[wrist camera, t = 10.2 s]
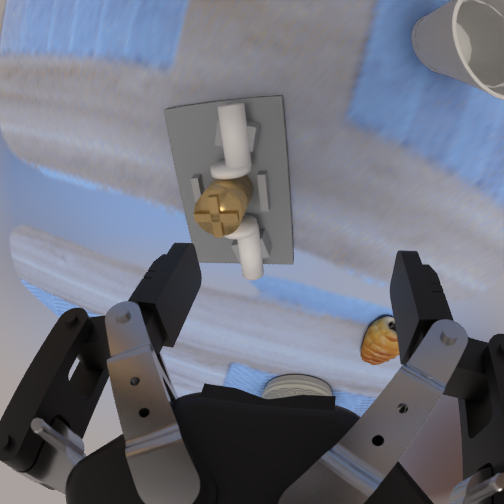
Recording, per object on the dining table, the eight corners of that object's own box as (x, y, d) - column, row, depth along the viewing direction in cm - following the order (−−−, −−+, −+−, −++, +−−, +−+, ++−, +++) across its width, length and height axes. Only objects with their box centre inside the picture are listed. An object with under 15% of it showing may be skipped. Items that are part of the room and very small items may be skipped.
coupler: (210, 170, 32) (187, 196, 27) (251, 168, 32) (236, 194, 26) (216, 207, 35) (196, 239, 30) (255, 207, 34) (242, 239, 29)
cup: (487, 64, 20) (558, 78, 11) (432, 95, 24) (489, 119, 14) (445, -4, 18) (506, -25, 8) (386, 26, 22) (428, 8, 12)
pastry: (386, 358, 46) (388, 377, 43) (349, 350, 46) (349, 370, 43) (416, 320, 40) (421, 340, 37) (377, 309, 40) (379, 330, 37)
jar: (281, 364, 50) (264, 462, 36) (347, 385, 51) (343, 477, 37) (253, 395, 58) (234, 476, 43) (311, 413, 59) (301, 491, 44)
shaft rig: (167, 108, 30) (145, 118, 26) (282, 95, 28) (276, 101, 24) (199, 257, 41) (185, 282, 36) (293, 259, 38) (289, 287, 34)
